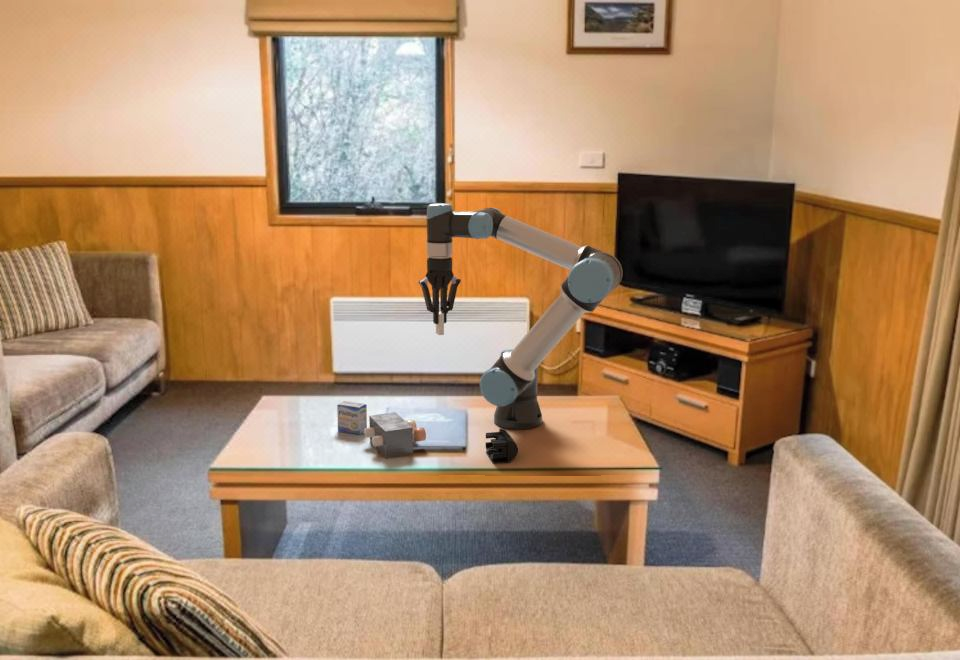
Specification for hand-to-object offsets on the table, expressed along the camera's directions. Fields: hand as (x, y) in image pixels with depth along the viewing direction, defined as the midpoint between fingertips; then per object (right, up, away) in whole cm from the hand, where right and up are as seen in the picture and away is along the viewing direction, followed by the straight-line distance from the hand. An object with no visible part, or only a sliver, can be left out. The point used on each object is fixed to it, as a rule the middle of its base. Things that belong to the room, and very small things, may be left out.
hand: (439, 333), depth 258 cm
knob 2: (-11, -31, -14) cm, 36 cm away
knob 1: (-14, -30, -8) cm, 34 cm away
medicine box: (-27, -30, +2) cm, 40 cm away
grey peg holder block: (-14, -33, -11) cm, 37 cm away
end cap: (+18, -35, -18) cm, 43 cm away
